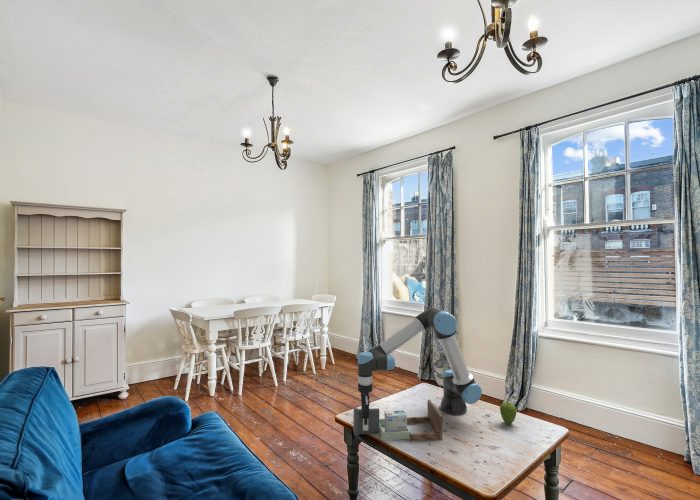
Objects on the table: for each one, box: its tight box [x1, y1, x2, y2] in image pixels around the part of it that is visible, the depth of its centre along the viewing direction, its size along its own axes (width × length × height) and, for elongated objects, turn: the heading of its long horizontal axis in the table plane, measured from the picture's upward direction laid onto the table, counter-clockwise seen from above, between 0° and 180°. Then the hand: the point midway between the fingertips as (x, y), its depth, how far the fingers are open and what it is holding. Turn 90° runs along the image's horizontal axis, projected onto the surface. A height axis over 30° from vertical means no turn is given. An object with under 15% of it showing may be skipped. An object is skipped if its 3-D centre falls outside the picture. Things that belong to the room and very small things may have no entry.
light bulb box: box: [383, 409, 408, 432], centre depth 187 cm, size 11×7×11 cm, turn 98°
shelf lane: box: [407, 399, 444, 442], centre depth 189 cm, size 16×20×12 cm
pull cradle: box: [352, 407, 412, 441], centre depth 187 cm, size 28×16×12 cm, turn 96°
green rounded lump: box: [499, 401, 518, 425], centre depth 198 cm, size 9×8×12 cm
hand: (365, 428), depth 186 cm, fingers closed on pull cradle, 2 cm apart
